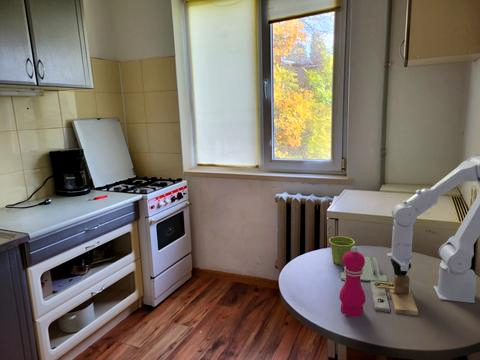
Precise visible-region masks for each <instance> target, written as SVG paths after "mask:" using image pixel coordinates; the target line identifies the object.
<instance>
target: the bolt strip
mask: <svg viewBox="0 0 480 360" xmlns="http://www.w3.org/2000/svg"><path fill="white" fill-rule="evenodd" d="M369 285H370V289H371V290H370V291H371V297H372V301H373V306H374V311H378V312H388V313H390V311H391V310H390V305H389V300H388V297H387V292H386V289H380V288H377V286H385V285H382V284H376V281H369Z"/></svg>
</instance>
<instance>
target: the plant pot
mask: <svg viewBox="0 0 480 360" xmlns="http://www.w3.org/2000/svg"><path fill="white" fill-rule="evenodd" d="M328 242H329V245H330V247H331V249H330V250H331V255H332V257H331V258H332V262H333V263H334V264H335V265H341V266H345V265H344V264H343V256H344V255H345V253H347V252H349V251H351V248H352V247H354V245H355V240H354V239H352V238H350V237H349V236H348V237H347V236H341V235H340V236H339V235H338V236H332V237H330V238H329V239H328Z"/></svg>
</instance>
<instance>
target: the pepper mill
mask: <svg viewBox="0 0 480 360" xmlns="http://www.w3.org/2000/svg"><path fill="white" fill-rule="evenodd" d="M364 257H365V256H364V254H362V253H361V252H360V251H358V248H357V247H356V246H353V247H352V248H351V251H349V252H347V253H345V255H344V256H343V264H344V265H343V266H344V271H343V273H345V275H346V281H345V280H344V283H343V285H342V287H341V289H340V291H339V300H340V302H341V303H340V311H341V313H342V314H343V315H345V316H347V317H350V318H359V317H361V316H362V315H363V314H364V305H365V303H366V300H367V299H366V295H365V291H364V288H363V287H362V282H361V280H360V277H361V275H362V274H363V272H362V271H363V269H362V267H363V266H364V265H365V259H364Z"/></svg>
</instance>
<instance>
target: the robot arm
mask: <svg viewBox="0 0 480 360" xmlns="http://www.w3.org/2000/svg"><path fill="white" fill-rule="evenodd" d="M463 182H464V183H465V182H476V183H477V185H478V187H479V188H480V154H474V155H472V156H470V157H469V158H468V159H467V160H463V161H462V162H461V163H460V164H458V166H457V167H456V168H455V169H453V170H452V171H451V172H449V173H448V174H447V175H446V176H444V177H442V179H441V180H439V181H438V182H437V183H435V184H434V185H433V186H432V187H430V188H422V189H417V190H415V194H414V195H412V196H410V197H409V198H408V199H407V200H406V199H404V200H403V201H402V203H398V204H396V205H395V206H394V207H393V209H392V210H391V215H392V217H393V226H392V233H391V234H392V236H391V237H392V238H391V252H387V253H386V255H387V258H390V262H391V265H392V267H393V272H394V273H393V274H395V275H406V276H407V274H408V272H409V271H410V269H411V268H412V264H411V262H412V259H413V258H412V251H413V250H412V249H413V248H412V247H413V236H414V235H413V234H414V229H413V227H414V224H415V223H416V221H417V220H418V219H417V218H418V217H419V216H421V215H422V214H424V213H425V212H427V211H428V210H429V209H431V208H432V207H434V206H435V205H437V204H438V201H439V197H441V196H443V195H444V194H446V193H448V192H449V191H451V190H452V189H454V188H455V187H457V186H459V185H460V184H463ZM458 227H459V228H458V229H457V231H456V232H455V235H453V236H450V237H449V238H448V240H447V241H446V242H445V243H443V244H442V245H440V247H439V249H438V256H439V258H440V259H441V261H440V263H439V270H438V283H437V285H433V289H434V291H435V293H436V295H437V297H438V298H439V300H443V301H450V302H452V301H453V302H462V303H470V304H475V302H476V301H475V297H476V288H477V287H476V286H477V278H476V273H475V271H474V270H473V269H471V267H472V259H473V257H474V255H475V253H474V252H475V251H474V246H475V245H474V244H475V243H476V241H477V240H478V238H479V237H480V191H479V192H478V194H477V196H476V198H475V200H473V203H472V205H471V207H470V208H469V210H468V211H467V213H466V215H465V217H464V219H463V221H462V222H461V223H460V226H458Z"/></svg>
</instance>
